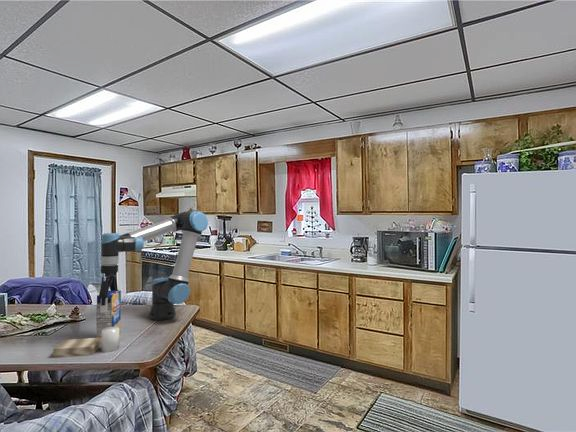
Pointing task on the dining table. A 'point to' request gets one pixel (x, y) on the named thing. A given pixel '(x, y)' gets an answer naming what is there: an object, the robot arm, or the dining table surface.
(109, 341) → the white rounded cylinder
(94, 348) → the maple block
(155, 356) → the dining table surface
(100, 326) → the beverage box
